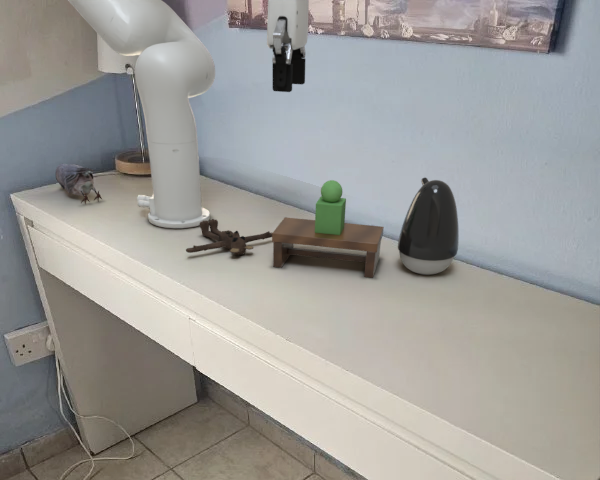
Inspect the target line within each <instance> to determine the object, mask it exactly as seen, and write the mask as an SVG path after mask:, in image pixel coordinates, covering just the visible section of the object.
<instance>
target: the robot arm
mask: <svg viewBox="0 0 600 480" xmlns="http://www.w3.org/2000/svg"><path fill="white" fill-rule="evenodd" d="M309 1H310V0H267V23H266V24H267V25H266V45H267V47H268V48H269V49H270V50H272V53H273V54H272V58H271V59H272V61H271V62H272V91H273V92H280V93H281V92H282V93H290V92H292V91H293V85H304V84H305V82H306V48H305V46H306V45H307V43H308V39H309V11H310V10H309V7H310V6H309V3H310V2H309ZM67 2H69V4H70V5H71V6H72V7H73V8H74V9H75V10H76V11H77V13H78V14H79V15H80V16H81V17H82V19H84V21H85V22H86V23H87V24H88V25H89V26H90V27H91V28H92V29H93V30H94V31H95V33H96V34H97V35H98V36H99V37H100V38H101V39H102V41H104V42H105V43H106V44H107V46H108V47H109V48H110V49H111V50H112V51H114V53H117V54H119V55H121V56H127V57H129V56H130V57H131V56H138V57H137V59H136V62H135V66H134V79H135V84H136V88H137V91H138V95H139V98H140V103H141V106H142V111H143V117H144V123H145V133H146V140H147V148H148V158H149V166H150V176H151V185H152V195H151V196H149V195H147V194H138V195H137V196H136V202H137V206H138V208H148V210H149V212H148V214H147V220H148V222H149V223H150V224H151V225H154V226H156V227H159V228H166V229H187V228H195V227H198V226H199V227H200V222H202V221H208V222H209V221H210V220H211V212H210V211H209V210H208V209H206V208H204V207H203V204H202V186H201V174H200V173H201V172H200V159H199V158H200V157H199V145H198V144H199V143H198V130H197V122H196V118H195V114H194V111H193V109H192V105H191V102H190V99H191V98H194V97H197V96H200V95H203V94H205V93H206V92H208V91H209V90H210V88H211V87H212V86H213V84H214V81H215V80H216V79H215V78H216V66H215V62H214V59H213V56H212V54H211V52H210V51H209V49H208V48H207V47H206V45H205V44H204V43H203V42H202V41H201V40H200V38H199V37H198V36H197V35H196V34H195V32H193V31H192V30H191V28H190V27H189V26H188V25H187V24H186V23H185V21H183V19H182V18H181V17H180V16H179V15H178V14H177V13H176V11H174V9H172V7H171V6H170V5H169V4H167V2H165V1H163V0H67Z"/></svg>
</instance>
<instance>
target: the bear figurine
mask: <svg viewBox="0 0 600 480" xmlns="http://www.w3.org/2000/svg"><path fill="white" fill-rule="evenodd" d="M218 226H219V221H218V220H217V219H215V218H212V219H209V221H202V222H200V225H199V227H200V232H201V235H202V236H203V237H207V238H210V240H214V241H215V242H210V243H206V244H201V245H195V244H194V245H193V246H192V247H188V248H186V249H185V251H186V252H187V253H189V254H191V253H192V254H194V253H200V252H203V251H204V252H206V251H209V250H214V249H220V248H225V249H226V250H229V253H231V254H234V255H235V256H242V255H244V254H245V253H246V251H247V250H249V251H251V250H254V246H252V245H248V243H251V242H256V241H260V240H263V241H264V240H266V239H270V238H272V233H273V232H270V231H266V232H263V233H259V234H254V235H253V234H252V235H247V236H243V235H241V236H240V233H239V231H238V230H235V231H234V232H233V231H232V230H228V229H227V230H222V231H221V230H219V229H218Z"/></svg>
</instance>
